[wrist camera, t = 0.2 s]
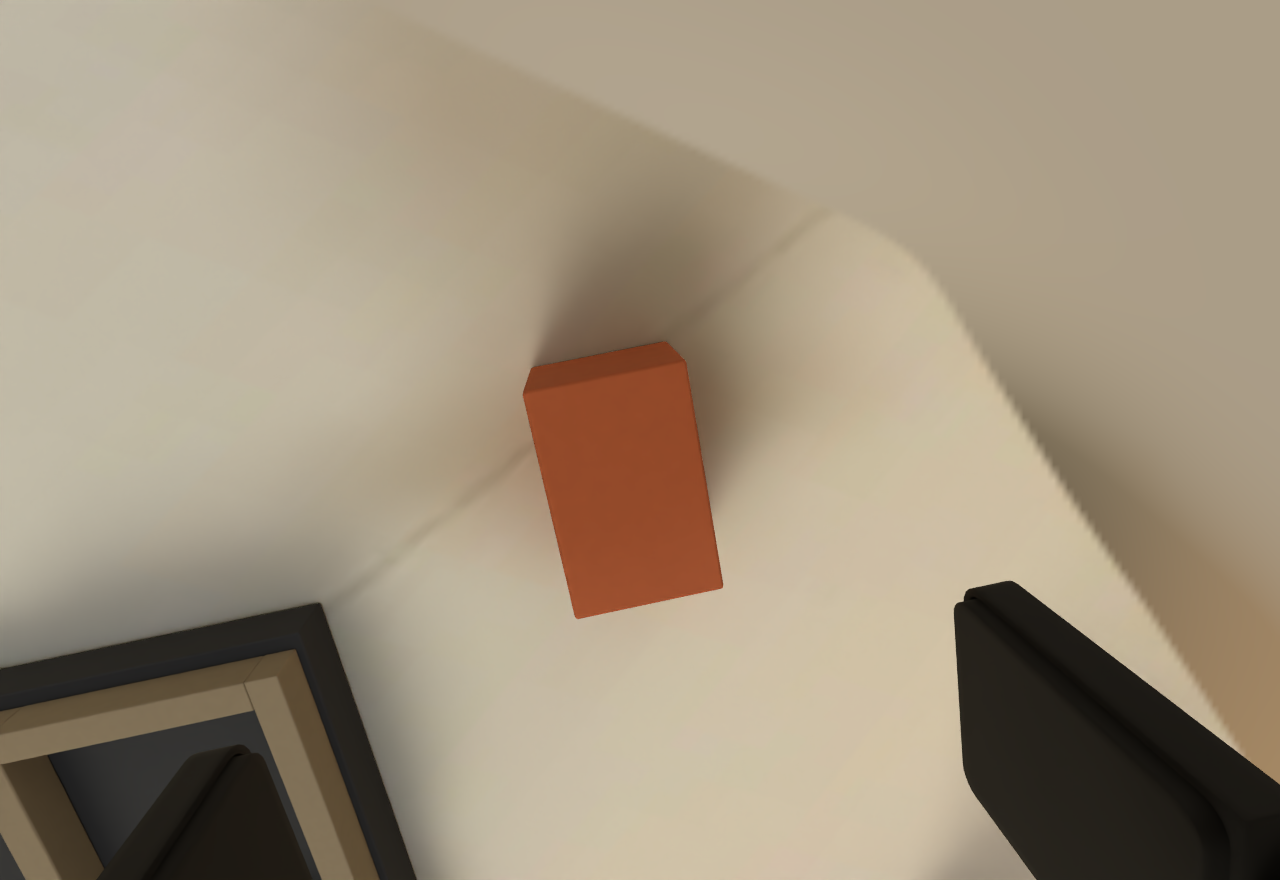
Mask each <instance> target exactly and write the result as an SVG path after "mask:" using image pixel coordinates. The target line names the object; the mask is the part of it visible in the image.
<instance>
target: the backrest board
mask: <svg viewBox="0 0 1280 880" xmlns="http://www.w3.org/2000/svg"><path fill="white" fill-rule="evenodd" d="M237 744H240V745H245V746H246V747H247V748H248V749H249V750H250V752H251V753H259V754H260V755H262V756H263V758H264V760H265V762H266V764H267V767H268V769H269V772H270V774H271V777H272V779H273V782H274V784H275V787H276V789H277V792H278V794H279V797H280V799H281V802H282V804H283V807H284V809H285V812H286V814H287V816H288V819H289V821H290V824H291V826H292V829H293V831H294V834H295V836H296V839H297V841H298V844H299V846H300V849H301V851H302V854H303V856H304V859H305V861H306V864H307V866H308V869H309V871H310V874H311V876H312V879H313V880H416V878H415V875H414V872H413V869H412V866H411V863H410V861H409V858H408V855H407V852H406V849H405V846H404V843H403V840H402V838H401V835H400V832H399V829H398V826H397V823H396V820H395V817H394V815H393V812H392V809H391V806H390V803H389V800H388V797H387V794H386V792H385V789H384V786H383V783H382V780H381V777H380V774H379V771H378V769H377V766H376V763H375V760H374V757H373V754H372V751H371V748H370V745H369V743H368V740H367V737H366V734H365V731H364V728H363V725H362V722H361V720H360V717H359V714H358V711H357V708H356V705H355V702H354V699H353V697H352V694H351V691H350V688H349V685H348V682H347V679H346V676H345V674H344V671H343V668H342V665H341V662H340V659H339V656H338V653H337V651H336V648H335V645H334V642H333V639H332V636H331V633H330V630H329V627H328V625H327V622H326V619H325V616H324V613H323V610H322V607H321V604H320V603H318V604H313V605H308V606H303V607H298V608H294V609H289V610H284V611H279V612H275V613H270V614H265V615H260V616H255V617H251V618H246V619H241V620H236V621H231V622H227V623H222V624H217V625H212V626H207V627H203V628H198V629H193V630H188V631H183V632H179V633H174V634H169V635H164V636H159V637H155V638H150V639H145V640H140V641H135V642H131V643H126V644H121V645H116V646H111V647H107V648H102V649H97V650H92V651H87V652H83V653H78V654H73V655H68V656H63V657H59V658H54V659H49V660H44V661H39V662H35V663H30V664H25V665H20V666H15V667H11V668H6V669H1V670H0V880H96V879H97V878H98V877H99V875H100V874H101V873H102V871H103V870H104V869H105V867H106V866H107V865H108V863H109V862H110V861H111V859H112V858H113V857H114V855H115V854H116V853H117V851H118V850H119V849H120V847H121V846H122V845H123V843H124V842H125V841H126V839H127V838H128V837H129V835H130V834H131V833H132V831H133V830H134V829H135V827H136V826H137V825H138V823H139V822H140V821H141V819H142V818H143V817H144V815H145V814H146V813H147V811H148V810H149V809H150V807H151V806H152V805H153V803H154V802H155V801H156V799H157V798H158V797H159V795H160V794H161V793H162V791H163V790H164V789H165V787H166V786H167V785H168V783H169V782H170V781H171V779H172V778H173V777H174V775H175V774H176V773H177V771H178V770H179V769H180V767H181V766H182V765H183V763H184V762H185V761H186V760H187V759H188V758H189V757H190V756H191V755H193V754H196V753H199V752H204V751H209V750H213V749H218V748H223V747H227V746H232V745H237Z"/></svg>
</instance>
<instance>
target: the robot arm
mask: <svg viewBox="0 0 1280 880" xmlns="http://www.w3.org/2000/svg"><path fill="white" fill-rule="evenodd" d="M954 624H955V640H956V657H957V674H958V690H959V707H960V724H961V740H962V757H963V767H964V772H965V775H966V778H967V781H968V783H969V785H970V788H971V790H972V791H973V793H974V794H975V796H976V797H977V799H978V800H979V802H980V803H981V804H982V806H983V807H984V808H985V810H986V811H987V813H988V814H989V815H990V817H991V818H992V819H993V821H994V822H995V824H996V825H997V826H998V828H999V829H1000V830H1001V832H1002V833H1003V835H1004V836H1005V837H1006V839H1007V840H1008V841H1009V843H1010V844H1011V846H1012V847H1013V848H1014V850H1015V851H1016V852H1017V854H1018V855H1019V856H1020V858H1021V859H1022V861H1023V862H1024V863H1025V865H1026V866H1027V867H1028V869H1029V870H1030V872H1031V873H1032V874H1033V876H1034V877H1035V878H1036V880H1280V785H1279V784H1278V783H1277V782H1276V781H1274V780H1273V779H1272V778H1270V777H1269V776H1268V775H1267V774H1265V773H1264V772H1263V771H1261V770H1260V769H1259V768H1257V767H1256V766H1255V765H1254V764H1252V763H1251V762H1250V761H1248V760H1247V759H1246V758H1244V757H1243V756H1242V755H1240V754H1239V753H1238V752H1237V751H1235V750H1234V749H1233V748H1231V747H1230V746H1229V745H1227V744H1226V743H1225V742H1223V741H1222V740H1221V739H1220V738H1218V737H1217V736H1216V735H1214V734H1213V733H1212V732H1210V731H1209V730H1208V729H1206V728H1205V727H1204V726H1203V725H1201V724H1200V723H1199V722H1197V721H1196V720H1195V719H1193V718H1192V717H1191V716H1189V715H1188V714H1187V713H1186V712H1184V711H1183V710H1182V709H1180V708H1179V707H1178V706H1176V705H1175V704H1174V703H1172V702H1171V701H1170V700H1169V699H1167V698H1166V697H1165V696H1163V695H1162V694H1161V693H1159V692H1158V691H1157V690H1155V689H1154V688H1153V687H1152V686H1150V685H1149V684H1148V683H1146V682H1145V681H1144V680H1142V679H1141V678H1140V677H1139V676H1137V675H1136V674H1135V673H1133V672H1132V671H1131V670H1129V669H1128V668H1127V667H1125V666H1124V665H1123V664H1122V663H1120V662H1119V661H1118V660H1116V659H1115V658H1114V657H1112V656H1111V655H1110V654H1108V653H1107V652H1106V651H1105V650H1103V649H1102V648H1101V647H1099V646H1098V645H1097V644H1095V643H1094V642H1093V641H1091V640H1090V639H1089V638H1088V637H1086V636H1085V635H1084V634H1082V633H1081V632H1080V631H1078V630H1077V629H1076V628H1074V627H1073V626H1072V625H1071V624H1069V623H1068V622H1067V621H1065V620H1064V619H1063V618H1061V617H1060V616H1059V615H1057V614H1056V613H1055V612H1054V611H1052V610H1051V609H1050V608H1048V607H1047V606H1046V605H1044V604H1043V603H1042V602H1040V601H1039V600H1038V599H1037V598H1035V597H1034V596H1033V595H1031V594H1030V593H1029V592H1027V591H1026V590H1025V589H1023V588H1022V587H1021V586H1020V585H1018V584H1017V583H1015V582H1013V581H1005V582H1000V583H995V584H990V585H986V586H981V587H976V588H972V589H969V590H967V591H966V593H965V596H964V602H959V603H957V604H956V605H955V608H954ZM96 880H313V879H312V876H311V874H310V871H309V869H308V866H307V864H306V861H305V859H304V856H303V854H302V851H301V849H300V846H299V844H298V841H297V839H296V836H295V834H294V831H293V829H292V826H291V824H290V821H289V819H288V816H287V814H286V812H285V809H284V807H283V804H282V802H281V799H280V797H279V794H278V792H277V789H276V787H275V784H274V782H273V779H272V777H271V774H270V772H269V769H268V767H267V764H266V762H265V760H264V758H263V756H262V755H260V754H259V753H251V752H250V750H249V749H248V748H247V747H246V746H245V745H240V744H237V745H232V746H227V747H223V748H218V749H213V750H209V751H204V752H199V753H196V754H193V755H191V756H190V757H189V758H188V759H187V760H186V761H185V762H184V763H183V765H182V766H181V767H180V769H179V770H178V771H177V773H176V774H175V775H174V777H173V778H172V779H171V781H170V782H169V783H168V785H167V786H166V787H165V789H164V790H163V791H162V793H161V794H160V795H159V797H158V798H157V799H156V801H155V802H154V803H153V805H152V806H151V807H150V809H149V810H148V811H147V813H146V814H145V815H144V817H143V818H142V819H141V821H140V822H139V823H138V825H137V826H136V827H135V829H134V830H133V831H132V833H131V834H130V835H129V837H128V838H127V839H126V841H125V842H124V843H123V845H122V846H121V847H120V849H119V850H118V851H117V853H116V854H115V855H114V857H113V858H112V859H111V861H110V862H109V863H108V865H107V866H106V867H105V869H104V870H103V871H102V873H101V874H100V875H99V877H98V878H97V879H96Z"/></svg>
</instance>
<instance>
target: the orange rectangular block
mask: <svg viewBox="0 0 1280 880" xmlns="http://www.w3.org/2000/svg"><path fill="white" fill-rule="evenodd" d="M523 398H524V402H525V406H526V411H527V415H528V419H529V423H530V428H531V432H532V436H533V440H534V445H535V449H536V453H537V457H538V462H539V466H540V470H541V474H542V479H543V483H544V487H545V491H546V496H547V500H548V504H549V508H550V513H551V517H552V521H553V525H554V530H555V534H556V538H557V542H558V547H559V551H560V555H561V559H562V564H563V568H564V572H565V576H566V581H567V585H568V589H569V593H570V598H571V602H572V606H573V610H574V615H575V617H576V618H577V619H580V618H585V617H589V616H594V615H599V614H604V613H608V612H613V611H618V610H622V609H627V608H632V607H637V606H641V605H646V604H651V603H655V602H660V601H665V600H669V599H674V598H679V597H684V596H688V595H693V594H698V593H702V592H707V591H712V590H717V589H721V588H723V580H722V574H721V568H720V562H719V556H718V550H717V544H716V538H715V532H714V526H713V520H712V514H711V508H710V502H709V496H708V490H707V484H706V478H705V472H704V466H703V460H702V454H701V448H700V442H699V436H698V430H697V424H696V418H695V412H694V406H693V400H692V394H691V388H690V382H689V376H688V370H687V364H686V361H685V360H684V359H683V358H682V357H681V356H680V355H679V354H678V353H677V352H676V351H675V350H674V349H673V348H672V347H671V346H670V345H669V344H668V343H667V342H665V341H664V342H659V343H654V344H649V345H644V346H639V347H634V348H629V349H624V350H619V351H614V352H609V353H603V354H598V355H593V356H588V357H583V358H578V359H573V360H568V361H563V362H558V363H553V364H548V365H543V366H538V367H533V368H531V371H530V374H529V377H528V380H527V382H526V385H525V388H524V391H523Z"/></svg>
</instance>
